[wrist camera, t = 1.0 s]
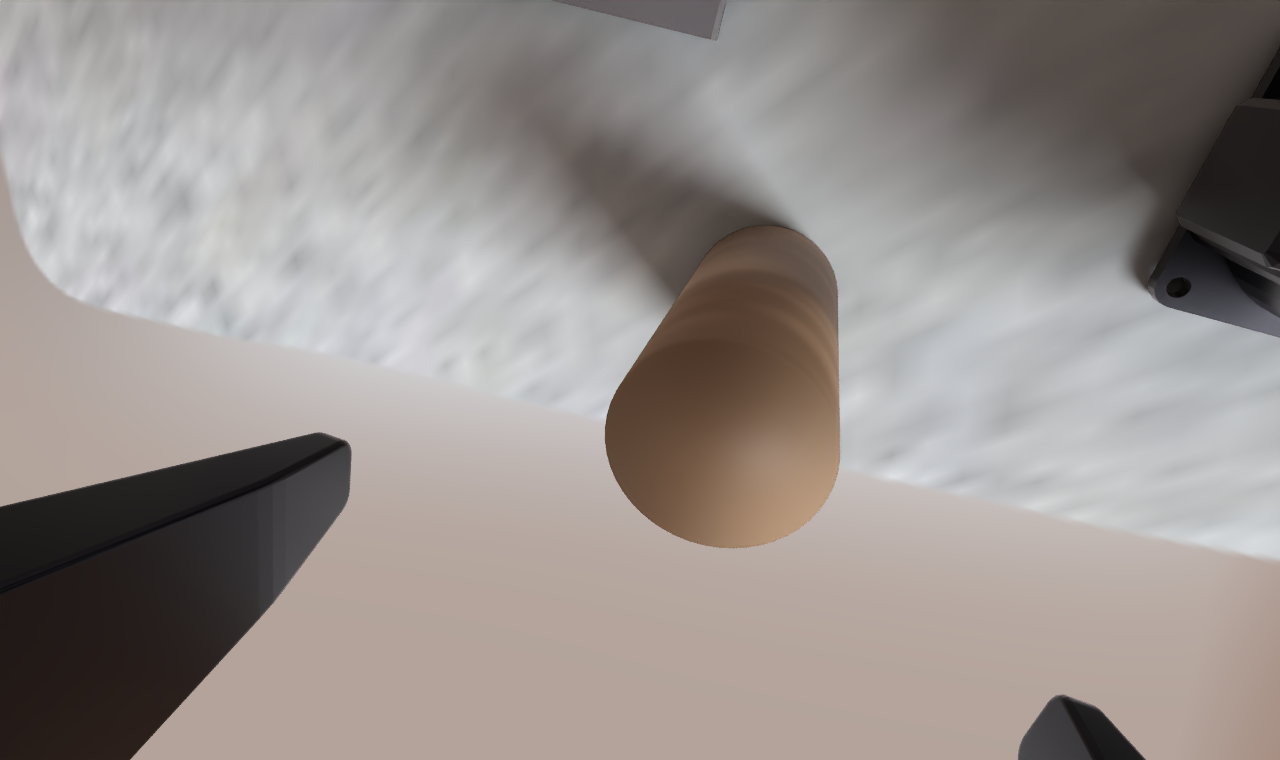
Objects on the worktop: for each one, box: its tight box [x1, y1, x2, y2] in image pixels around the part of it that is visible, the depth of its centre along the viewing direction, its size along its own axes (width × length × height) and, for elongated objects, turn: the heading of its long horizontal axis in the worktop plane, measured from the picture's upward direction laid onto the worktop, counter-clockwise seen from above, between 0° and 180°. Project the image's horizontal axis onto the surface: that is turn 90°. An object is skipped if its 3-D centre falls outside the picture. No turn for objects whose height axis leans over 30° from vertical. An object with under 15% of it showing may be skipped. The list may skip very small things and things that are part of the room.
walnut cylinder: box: [605, 225, 840, 548], centre depth 16 cm, size 4×4×9 cm
